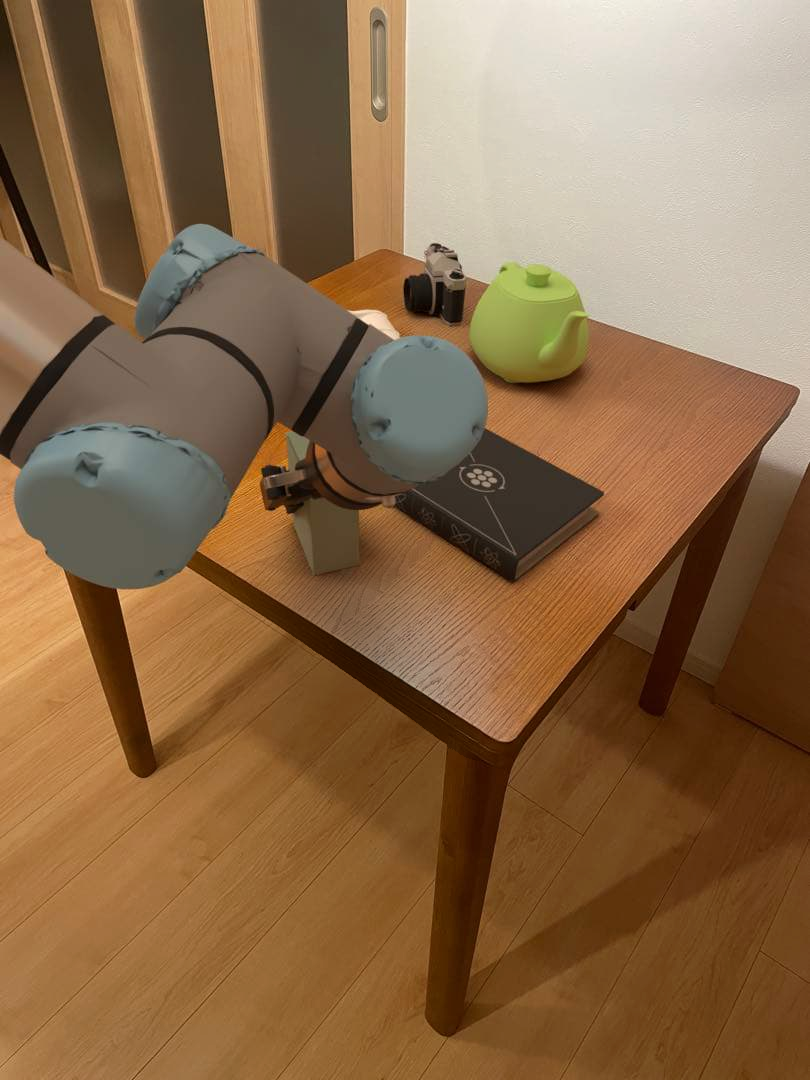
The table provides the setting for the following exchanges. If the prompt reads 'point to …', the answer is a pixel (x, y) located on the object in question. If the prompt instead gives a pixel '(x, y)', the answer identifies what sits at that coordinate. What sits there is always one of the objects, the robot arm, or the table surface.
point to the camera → (438, 286)
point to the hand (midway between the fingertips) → (313, 495)
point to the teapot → (530, 325)
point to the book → (503, 505)
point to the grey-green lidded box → (323, 523)
